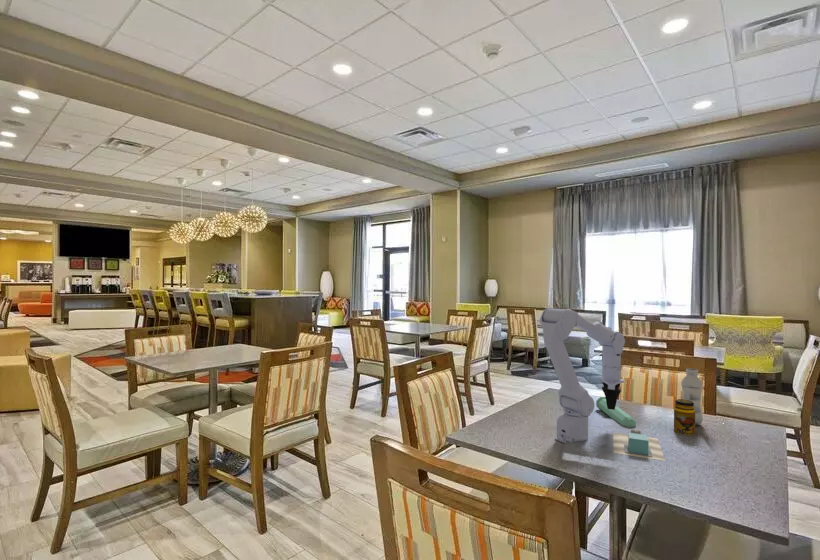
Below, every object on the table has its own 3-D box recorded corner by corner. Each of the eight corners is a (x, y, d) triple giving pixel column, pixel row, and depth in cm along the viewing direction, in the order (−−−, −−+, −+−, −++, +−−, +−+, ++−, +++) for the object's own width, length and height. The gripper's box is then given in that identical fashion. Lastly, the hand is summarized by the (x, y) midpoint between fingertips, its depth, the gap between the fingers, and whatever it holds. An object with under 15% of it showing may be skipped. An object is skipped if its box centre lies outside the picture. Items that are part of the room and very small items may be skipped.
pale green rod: (635, 414, 149) (607, 394, 174) (619, 420, 149) (593, 399, 174) (642, 430, 149) (612, 407, 174) (625, 436, 149) (598, 412, 174)
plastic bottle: (707, 427, 154) (707, 371, 154) (687, 427, 154) (688, 371, 154) (695, 421, 160) (695, 367, 160) (677, 421, 160) (677, 367, 160)
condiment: (685, 441, 140) (685, 404, 140) (663, 432, 148) (663, 397, 148) (702, 439, 142) (702, 402, 142) (679, 430, 150) (679, 396, 150)
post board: (664, 466, 120) (665, 450, 120) (613, 457, 126) (613, 442, 126) (657, 443, 138) (657, 429, 138) (612, 436, 143) (612, 423, 143)
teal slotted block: (648, 454, 124) (648, 440, 124) (629, 451, 126) (629, 438, 126) (646, 448, 129) (646, 435, 129) (628, 445, 131) (628, 432, 131)
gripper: (625, 371, 138) (625, 413, 138) (623, 363, 151) (623, 402, 151) (601, 369, 141) (601, 410, 141) (601, 361, 154) (601, 399, 154)
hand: (611, 406), depth 146 cm, fingers open, 7 cm apart
